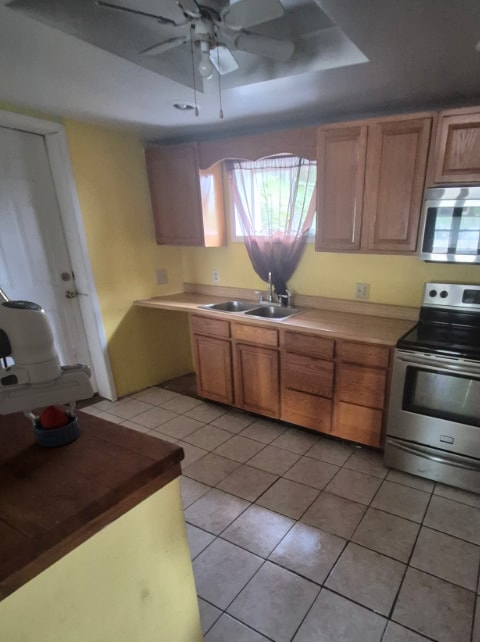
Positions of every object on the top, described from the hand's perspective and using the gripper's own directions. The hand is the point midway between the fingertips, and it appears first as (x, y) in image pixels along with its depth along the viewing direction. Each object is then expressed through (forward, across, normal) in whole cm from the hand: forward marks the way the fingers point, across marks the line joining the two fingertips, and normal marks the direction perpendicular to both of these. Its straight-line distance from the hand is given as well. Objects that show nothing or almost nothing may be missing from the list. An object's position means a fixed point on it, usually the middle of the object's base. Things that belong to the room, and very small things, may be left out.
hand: (54, 420), depth 94 cm
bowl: (+5, 0, 0) cm, 5 cm away
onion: (+4, 0, 0) cm, 4 cm away
